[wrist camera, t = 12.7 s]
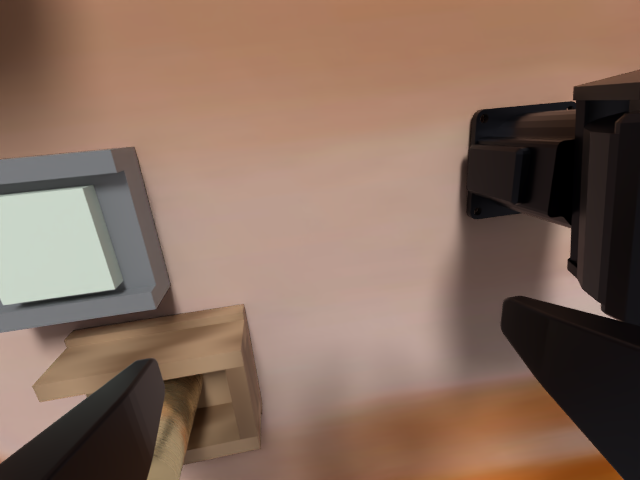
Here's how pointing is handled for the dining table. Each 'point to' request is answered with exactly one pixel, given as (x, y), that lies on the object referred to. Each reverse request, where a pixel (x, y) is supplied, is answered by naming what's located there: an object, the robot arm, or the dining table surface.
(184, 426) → the cell bronze
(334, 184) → the dining table surface
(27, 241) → the checker pad
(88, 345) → the wooden open box
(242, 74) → the dining table surface
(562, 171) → the robot arm
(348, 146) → the dining table surface
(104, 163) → the base
